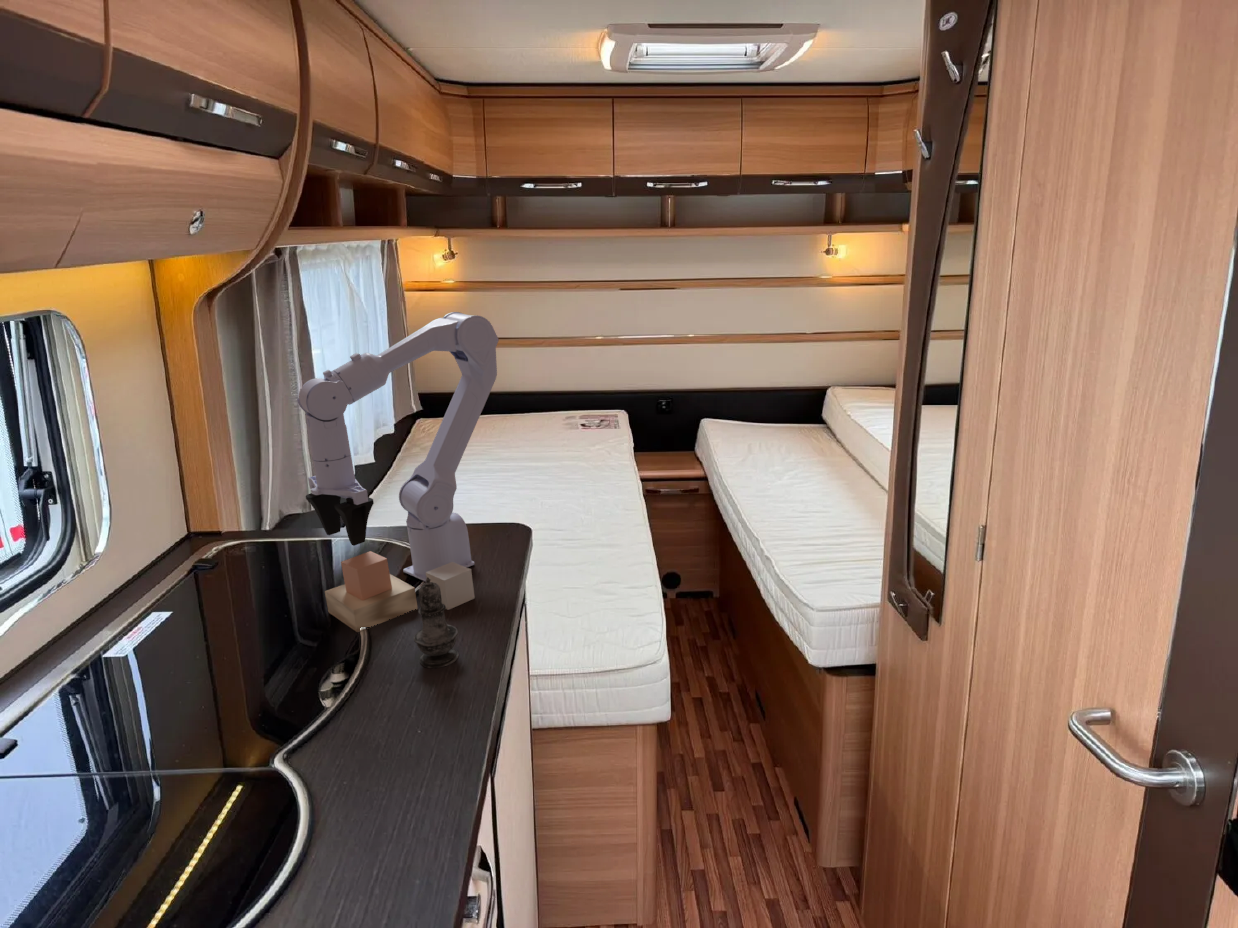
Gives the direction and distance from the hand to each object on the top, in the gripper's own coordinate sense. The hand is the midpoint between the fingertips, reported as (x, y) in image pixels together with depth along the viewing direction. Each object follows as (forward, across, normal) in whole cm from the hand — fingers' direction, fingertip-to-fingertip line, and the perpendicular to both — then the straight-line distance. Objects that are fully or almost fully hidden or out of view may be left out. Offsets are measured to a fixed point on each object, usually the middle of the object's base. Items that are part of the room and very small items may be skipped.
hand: (345, 538), depth 137 cm
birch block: (+10, +8, -2) cm, 13 cm away
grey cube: (+10, +15, +8) cm, 20 cm away
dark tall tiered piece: (+10, +29, -4) cm, 31 cm away
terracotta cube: (+6, +8, -2) cm, 11 cm away
